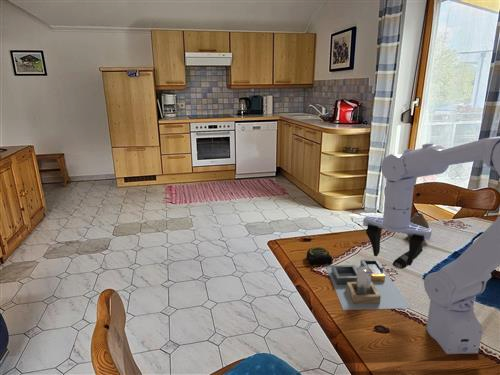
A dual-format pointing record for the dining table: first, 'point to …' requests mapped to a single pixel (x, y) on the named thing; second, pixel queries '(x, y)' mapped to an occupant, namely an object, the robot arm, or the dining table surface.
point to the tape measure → (318, 256)
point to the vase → (418, 221)
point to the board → (385, 288)
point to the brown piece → (363, 299)
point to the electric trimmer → (406, 258)
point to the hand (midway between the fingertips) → (392, 258)
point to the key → (376, 273)
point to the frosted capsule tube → (363, 281)
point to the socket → (352, 271)
